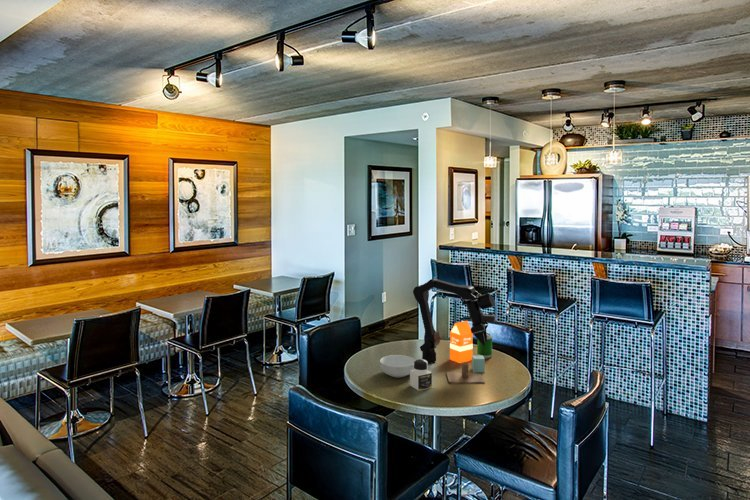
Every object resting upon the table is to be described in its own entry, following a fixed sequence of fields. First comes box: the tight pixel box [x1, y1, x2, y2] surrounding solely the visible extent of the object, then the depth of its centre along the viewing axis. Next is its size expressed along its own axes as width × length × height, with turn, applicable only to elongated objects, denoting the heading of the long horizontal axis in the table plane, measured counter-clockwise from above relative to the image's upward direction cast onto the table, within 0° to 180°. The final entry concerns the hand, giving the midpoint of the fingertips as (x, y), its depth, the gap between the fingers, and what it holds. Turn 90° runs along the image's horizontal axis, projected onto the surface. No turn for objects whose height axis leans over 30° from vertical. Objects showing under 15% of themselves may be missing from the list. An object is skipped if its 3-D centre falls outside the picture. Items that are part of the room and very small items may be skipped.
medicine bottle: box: [409, 358, 433, 392], centre depth 220 cm, size 7×7×12 cm
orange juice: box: [449, 320, 474, 364], centre depth 256 cm, size 8×9×20 cm
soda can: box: [476, 332, 493, 359], centre depth 261 cm, size 8×8×12 cm
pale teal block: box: [471, 354, 486, 373], centre depth 240 cm, size 5×5×7 cm
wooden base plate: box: [445, 362, 486, 385], centre depth 230 cm, size 16×12×7 cm
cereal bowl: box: [379, 354, 416, 379], centre depth 236 cm, size 17×17×7 cm
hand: (485, 342), depth 238 cm, fingers open, 9 cm apart
